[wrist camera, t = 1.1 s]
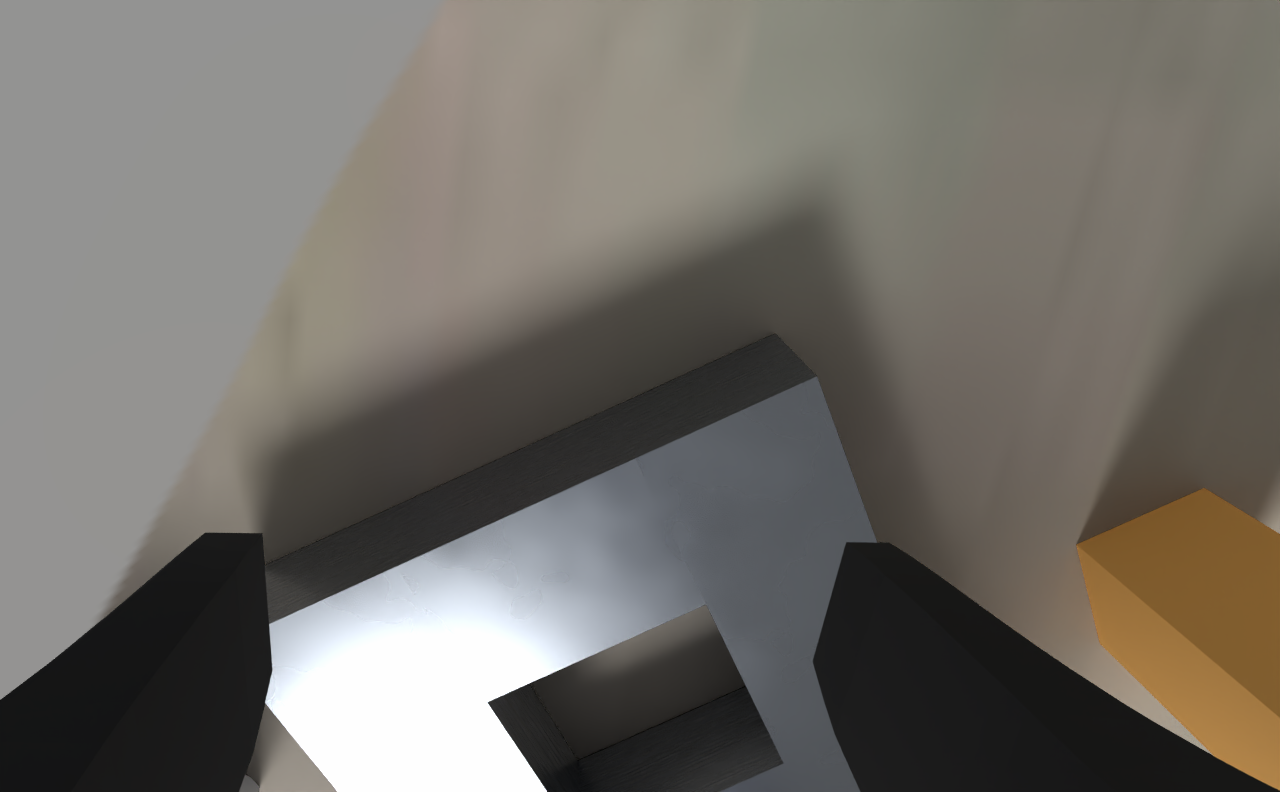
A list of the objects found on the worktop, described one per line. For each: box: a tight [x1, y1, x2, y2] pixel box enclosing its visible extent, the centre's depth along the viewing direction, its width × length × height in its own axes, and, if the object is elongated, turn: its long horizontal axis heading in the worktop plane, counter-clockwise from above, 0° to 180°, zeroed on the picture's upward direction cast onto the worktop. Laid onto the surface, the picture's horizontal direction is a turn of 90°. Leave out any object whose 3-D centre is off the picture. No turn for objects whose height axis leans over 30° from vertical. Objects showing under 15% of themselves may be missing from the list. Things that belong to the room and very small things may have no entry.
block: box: [1076, 488, 1280, 790], centre depth 22 cm, size 4×4×7 cm
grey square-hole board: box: [265, 334, 877, 792], centre depth 22 cm, size 14×14×3 cm
